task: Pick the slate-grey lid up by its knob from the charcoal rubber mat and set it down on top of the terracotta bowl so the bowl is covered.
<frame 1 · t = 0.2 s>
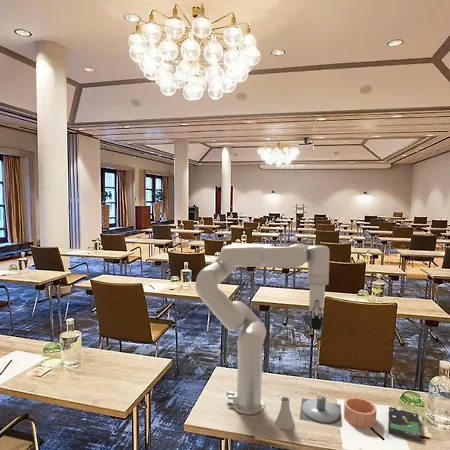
hand: (316, 324, 132), 36 cm above the table, tool pointing down, fingers open, 9 cm apart
flask: (284, 426, 129), on the table
bowl: (359, 421, 133), on the table
mat: (320, 413, 137), on the table
disk drive: (403, 427, 131), on the table
lid: (320, 411, 137), point 1 cm above the table, touching mat
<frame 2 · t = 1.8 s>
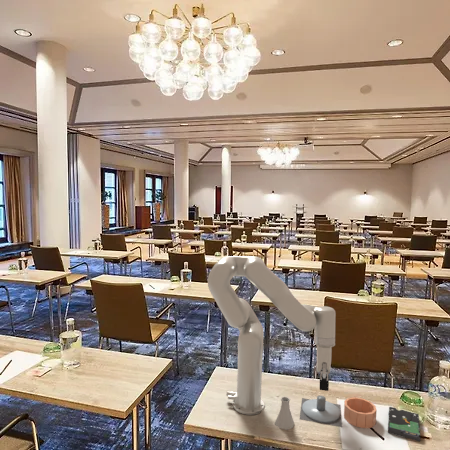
hand: (324, 383, 136), 12 cm above the table, tool pointing down, fingers open, 9 cm apart
nothing on the table moved.
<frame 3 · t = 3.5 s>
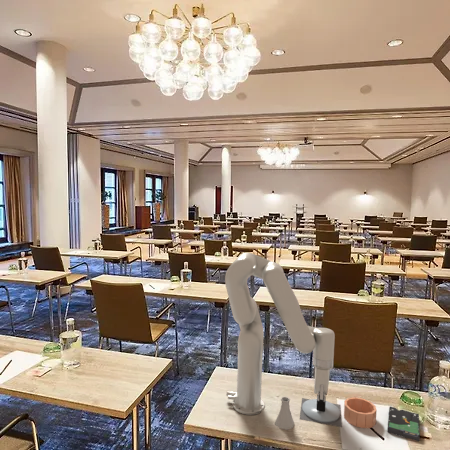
hand: (320, 407, 137), 2 cm above the table, tool pointing down, fingers closed on lid, 3 cm apart
lid: (320, 411, 137), point 1 cm above the table, touching gripper, mat
everything else where it was.
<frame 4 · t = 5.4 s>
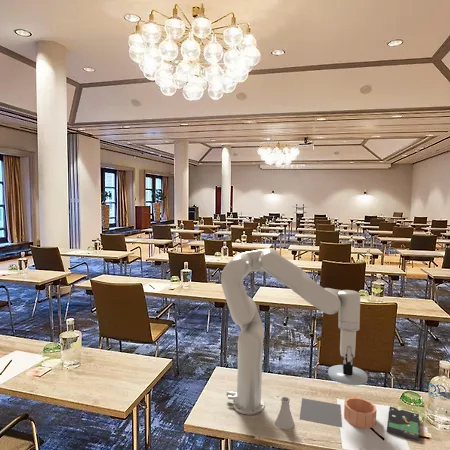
hand: (347, 371, 134), 18 cm above the table, tool pointing down, fingers closed on lid, 3 cm apart
lid: (347, 375, 134), point 16 cm above the table, touching gripper
everything else where it was.
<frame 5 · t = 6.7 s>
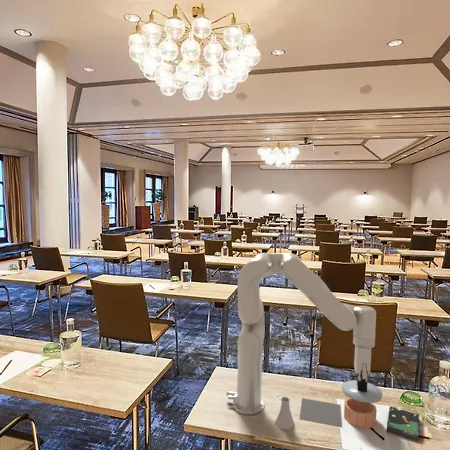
hand: (361, 388, 132), 13 cm above the table, tool pointing down, fingers closed on lid, 3 cm apart
lid: (361, 392, 132), point 11 cm above the table, touching gripper
everything else where it was.
when the fingers open (9 cm above the table, at t = 7.5 s): lid drops 2 cm, resting on bowl.
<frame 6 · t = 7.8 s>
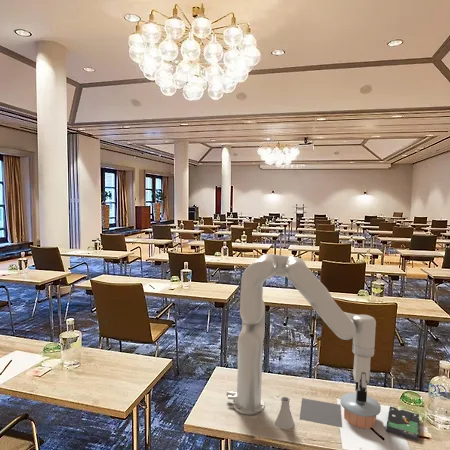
hand: (360, 395, 133), 10 cm above the table, tool pointing down, fingers open, 6 cm apart
bowl: (359, 420, 133), on the table, touching lid
lid: (360, 405, 133), point 6 cm above the table, touching bowl
everything else where it was.
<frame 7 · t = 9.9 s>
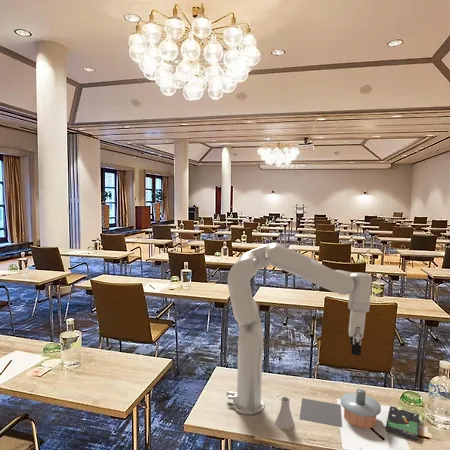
hand: (355, 349, 136), 25 cm above the table, tool pointing down, fingers open, 9 cm apart
nothing on the table moved.
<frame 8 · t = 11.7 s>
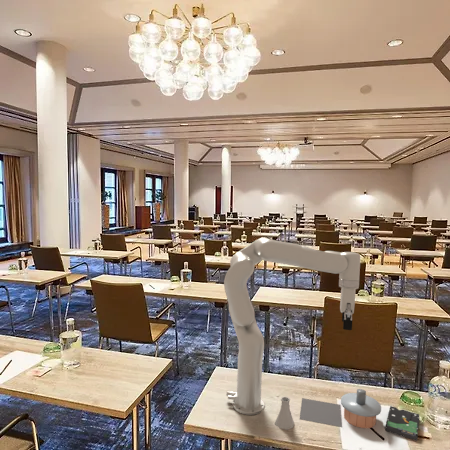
hand: (346, 325, 142), 32 cm above the table, tool pointing down, fingers open, 9 cm apart
nothing on the table moved.
at the end: lid 0.1 cm off-centre on the bowl, point 6.0 cm above the bowl's base; lid tilted 0°; the gripper is holding nothing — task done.
